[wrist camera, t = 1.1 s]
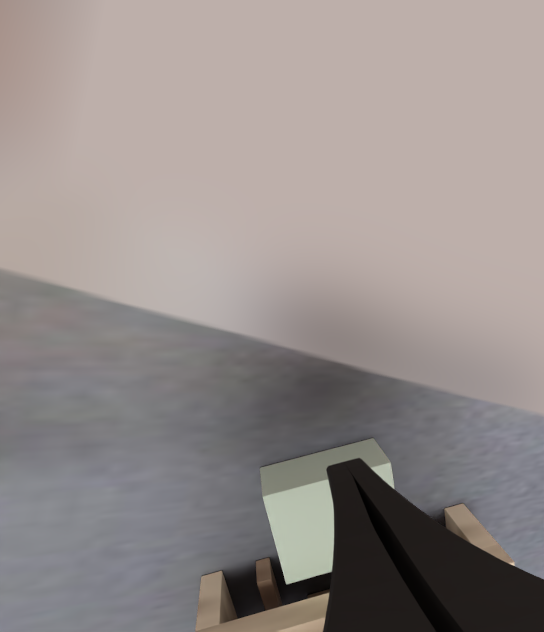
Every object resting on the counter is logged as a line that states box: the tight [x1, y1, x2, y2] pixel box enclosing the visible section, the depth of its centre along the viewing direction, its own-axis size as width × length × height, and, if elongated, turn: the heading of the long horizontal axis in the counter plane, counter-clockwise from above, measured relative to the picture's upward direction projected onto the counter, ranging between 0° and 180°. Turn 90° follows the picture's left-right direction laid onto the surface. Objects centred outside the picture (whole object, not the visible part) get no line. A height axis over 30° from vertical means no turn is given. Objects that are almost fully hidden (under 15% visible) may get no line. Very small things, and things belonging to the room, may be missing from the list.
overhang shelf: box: [195, 504, 514, 632], centre depth 22 cm, size 6×20×4 cm, turn 102°
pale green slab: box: [260, 438, 394, 584], centre depth 21 cm, size 7×8×2 cm
